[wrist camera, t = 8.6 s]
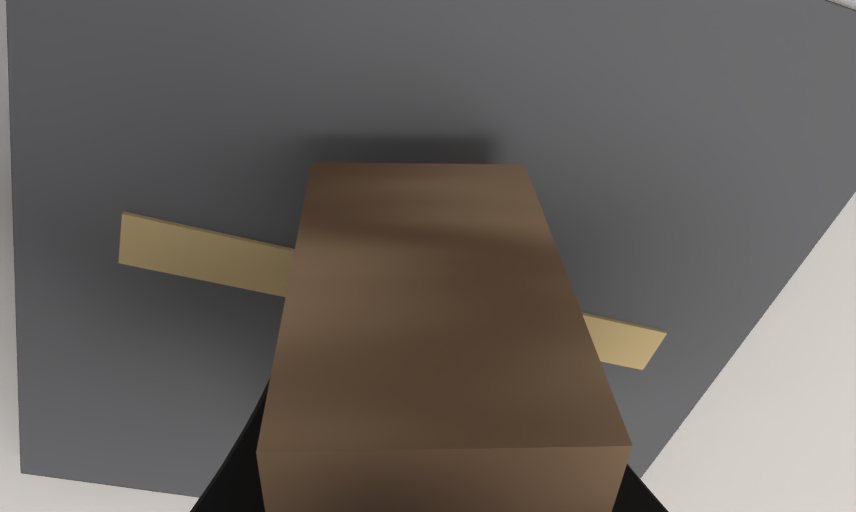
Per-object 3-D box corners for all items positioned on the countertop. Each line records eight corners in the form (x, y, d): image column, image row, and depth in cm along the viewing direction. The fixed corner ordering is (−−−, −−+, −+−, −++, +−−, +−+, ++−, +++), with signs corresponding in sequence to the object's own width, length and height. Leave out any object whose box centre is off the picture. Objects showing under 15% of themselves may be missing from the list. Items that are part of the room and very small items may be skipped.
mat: (29, 457, 18) (19, 476, 17) (14, -293, 9) (-7, -299, 9) (582, 535, 21) (587, 553, 21) (942, 41, 13) (965, 52, 12)
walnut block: (330, 471, 16) (307, 781, 11) (311, 162, 11) (256, 453, 6) (483, 468, 16) (528, 770, 11) (525, 164, 11) (632, 446, 7)
